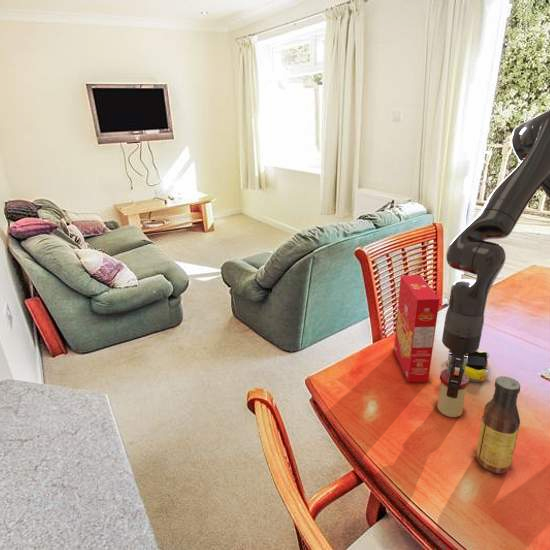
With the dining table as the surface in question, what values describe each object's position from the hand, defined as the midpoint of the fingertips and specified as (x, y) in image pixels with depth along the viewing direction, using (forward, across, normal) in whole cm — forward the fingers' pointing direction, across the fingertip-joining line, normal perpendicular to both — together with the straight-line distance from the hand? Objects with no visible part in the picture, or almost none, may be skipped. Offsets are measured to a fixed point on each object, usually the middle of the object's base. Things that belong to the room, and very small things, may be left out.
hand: (452, 387), depth 89 cm
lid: (-3, 0, 0) cm, 3 cm away
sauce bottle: (+7, +13, +9) cm, 17 cm away
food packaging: (+6, -14, -11) cm, 19 cm away
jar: (+6, 0, 0) cm, 6 cm away
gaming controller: (+6, -18, +3) cm, 19 cm away
